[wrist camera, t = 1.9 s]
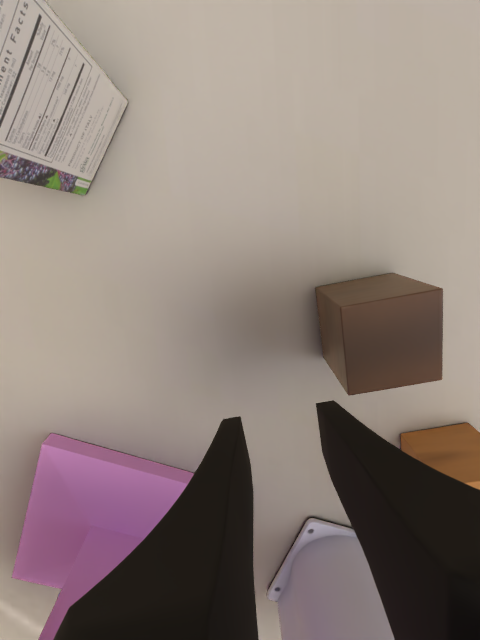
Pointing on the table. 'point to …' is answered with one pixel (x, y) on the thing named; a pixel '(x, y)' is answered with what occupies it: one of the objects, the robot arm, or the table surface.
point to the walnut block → (381, 332)
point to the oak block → (447, 451)
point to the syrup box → (51, 101)
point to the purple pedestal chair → (88, 516)
